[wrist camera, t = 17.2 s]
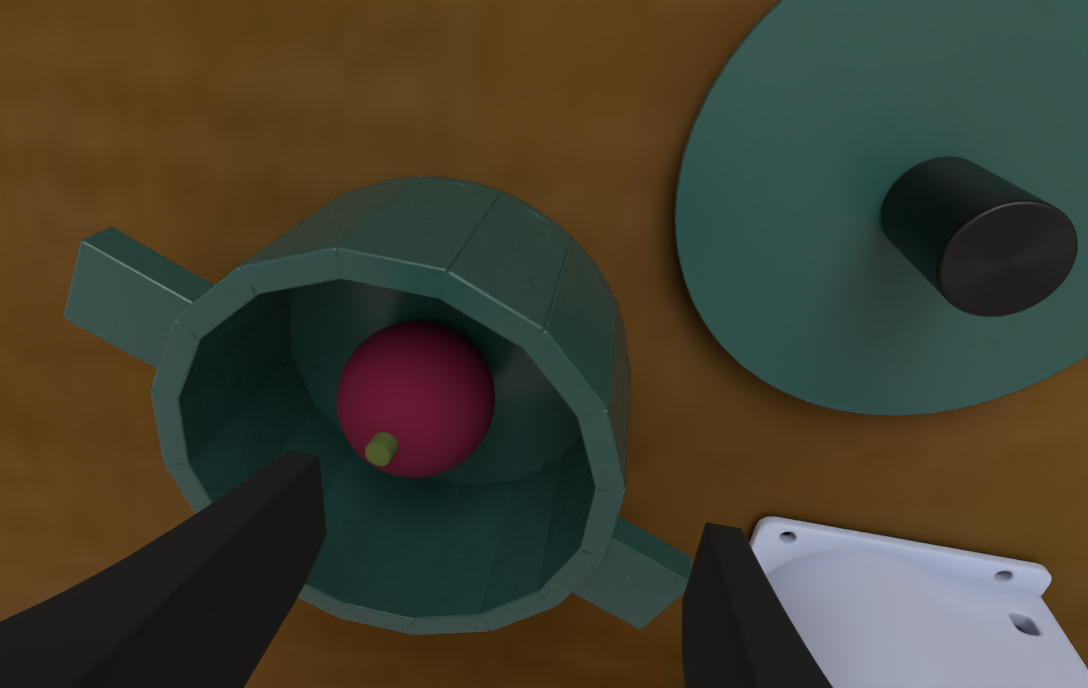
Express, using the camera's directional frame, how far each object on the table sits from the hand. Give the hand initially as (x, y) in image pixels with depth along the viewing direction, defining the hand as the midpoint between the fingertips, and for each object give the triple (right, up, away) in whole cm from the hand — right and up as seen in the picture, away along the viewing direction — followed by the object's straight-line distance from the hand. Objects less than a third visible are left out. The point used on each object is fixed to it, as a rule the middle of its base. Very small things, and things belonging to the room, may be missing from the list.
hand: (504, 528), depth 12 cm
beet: (-3, +2, +6) cm, 7 cm away
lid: (+10, +7, +4) cm, 13 cm away
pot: (-2, +3, +9) cm, 9 cm away
